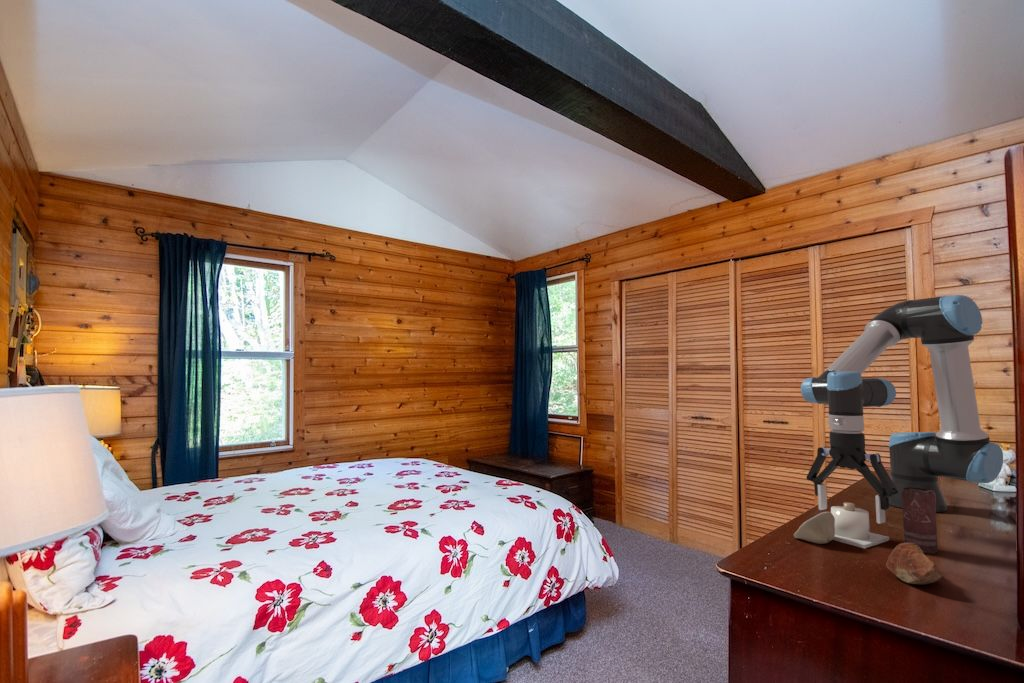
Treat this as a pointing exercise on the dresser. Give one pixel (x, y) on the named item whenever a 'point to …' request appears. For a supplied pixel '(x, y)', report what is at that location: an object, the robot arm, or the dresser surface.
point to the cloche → (851, 521)
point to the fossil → (912, 565)
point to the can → (920, 518)
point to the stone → (817, 529)
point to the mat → (863, 540)
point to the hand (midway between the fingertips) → (850, 515)
